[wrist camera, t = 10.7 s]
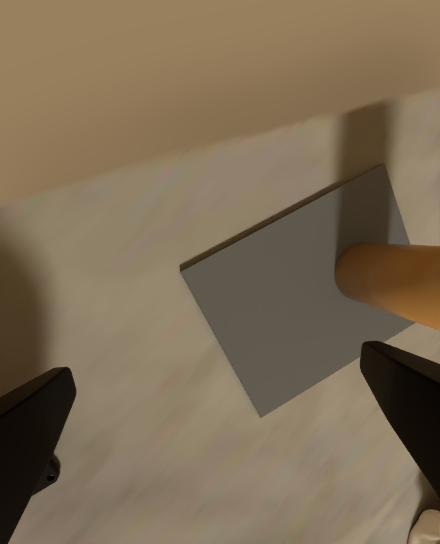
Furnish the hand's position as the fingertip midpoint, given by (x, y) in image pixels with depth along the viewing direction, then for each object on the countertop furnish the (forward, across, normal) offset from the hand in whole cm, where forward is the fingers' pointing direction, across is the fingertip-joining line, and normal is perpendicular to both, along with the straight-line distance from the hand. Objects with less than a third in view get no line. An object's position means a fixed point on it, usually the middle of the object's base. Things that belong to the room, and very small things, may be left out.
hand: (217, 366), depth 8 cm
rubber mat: (+13, -8, +4) cm, 16 cm away
